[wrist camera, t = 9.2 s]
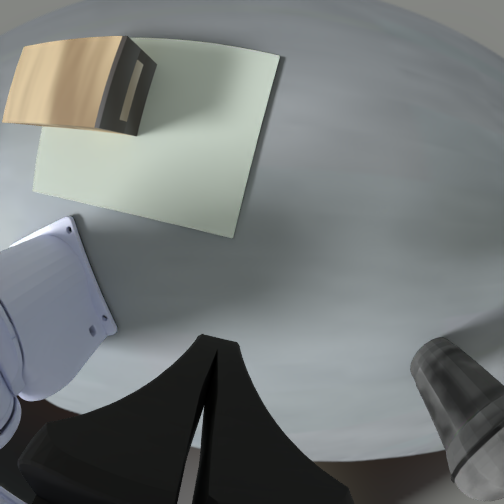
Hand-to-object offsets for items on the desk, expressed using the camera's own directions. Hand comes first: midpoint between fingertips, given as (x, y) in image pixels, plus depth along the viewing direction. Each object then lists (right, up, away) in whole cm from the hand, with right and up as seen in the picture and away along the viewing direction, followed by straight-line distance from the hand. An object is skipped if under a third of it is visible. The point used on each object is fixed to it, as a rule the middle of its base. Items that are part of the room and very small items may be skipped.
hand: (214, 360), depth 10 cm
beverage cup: (+17, -6, +12) cm, 22 cm away
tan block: (-5, +13, +4) cm, 14 cm away
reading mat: (-6, +12, +7) cm, 15 cm away
